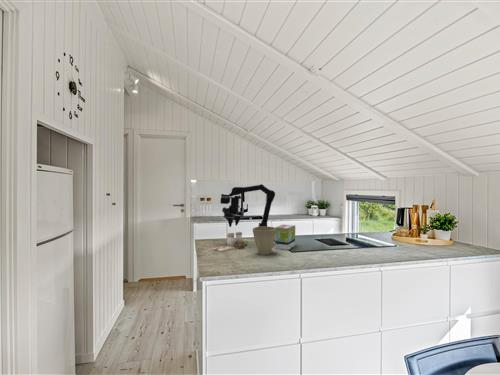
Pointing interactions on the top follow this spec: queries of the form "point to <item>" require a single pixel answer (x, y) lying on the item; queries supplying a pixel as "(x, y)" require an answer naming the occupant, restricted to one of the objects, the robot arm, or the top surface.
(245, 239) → the lime
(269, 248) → the plant pot
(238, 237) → the jar
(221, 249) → the board
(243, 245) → the token
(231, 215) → the robot arm
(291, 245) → the tea box
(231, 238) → the jar
